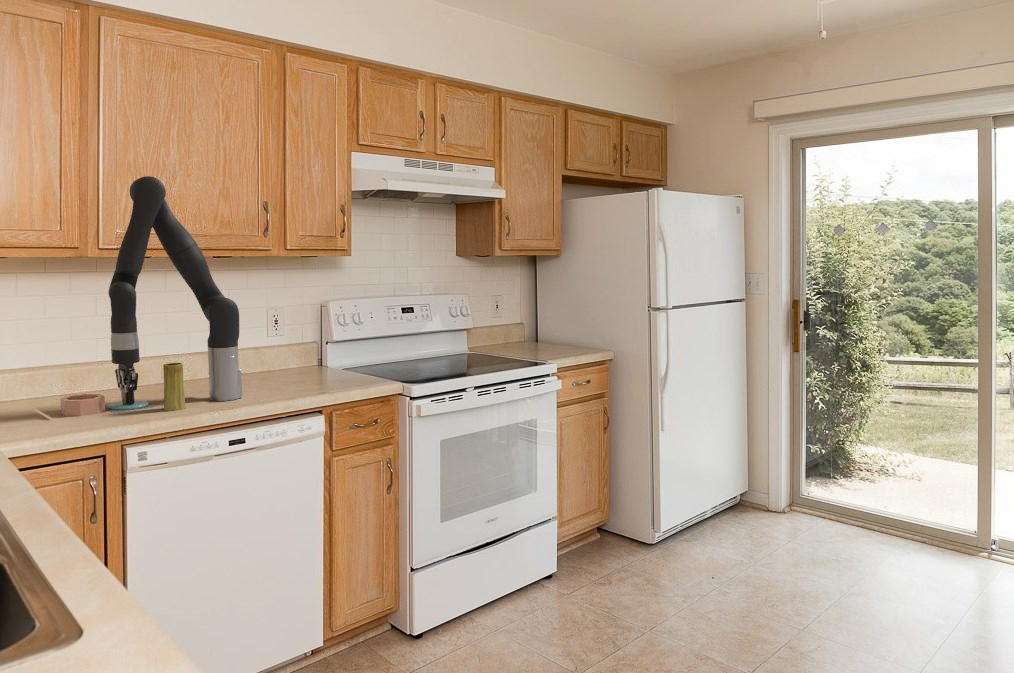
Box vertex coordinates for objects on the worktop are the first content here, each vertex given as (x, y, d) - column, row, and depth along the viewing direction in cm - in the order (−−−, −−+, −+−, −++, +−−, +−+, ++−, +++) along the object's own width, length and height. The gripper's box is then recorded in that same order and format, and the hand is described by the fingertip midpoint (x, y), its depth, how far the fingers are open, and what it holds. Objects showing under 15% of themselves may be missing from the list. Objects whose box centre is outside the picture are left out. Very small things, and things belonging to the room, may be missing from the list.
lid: (140, 401, 231) (139, 383, 231) (153, 406, 224) (152, 388, 223) (102, 406, 223) (101, 387, 223) (114, 411, 216) (113, 392, 215)
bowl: (97, 408, 223) (96, 392, 223) (108, 414, 216) (107, 397, 215) (58, 413, 216) (57, 397, 215) (68, 419, 208) (67, 402, 208)
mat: (142, 403, 232) (142, 401, 232) (156, 408, 224) (156, 406, 223) (100, 408, 224) (100, 406, 223) (113, 414, 215) (113, 412, 215)
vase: (189, 408, 224) (187, 362, 222) (181, 412, 218) (179, 365, 216) (169, 408, 224) (166, 362, 222) (160, 412, 218) (158, 365, 216)
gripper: (146, 348, 219) (149, 405, 221) (130, 344, 229) (133, 398, 231) (119, 350, 214) (122, 408, 216) (104, 346, 224) (107, 401, 226)
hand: (128, 403), depth 223 cm, fingers closed on lid, 3 cm apart
